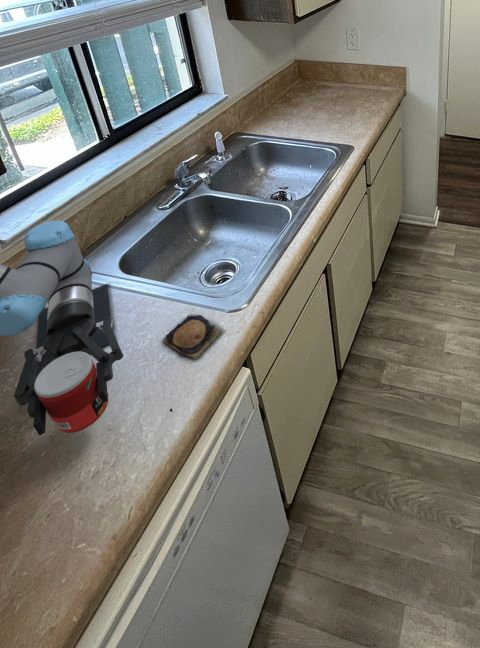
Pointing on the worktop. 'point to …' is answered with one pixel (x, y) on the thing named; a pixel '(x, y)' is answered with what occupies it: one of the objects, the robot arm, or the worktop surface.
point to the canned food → (70, 392)
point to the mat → (100, 312)
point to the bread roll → (192, 336)
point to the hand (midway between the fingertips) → (72, 412)
